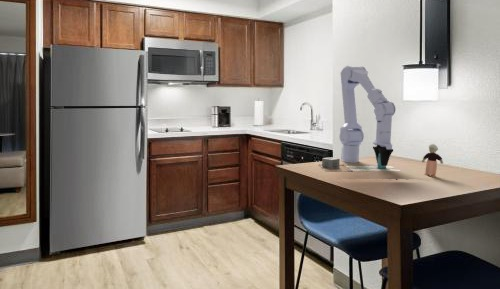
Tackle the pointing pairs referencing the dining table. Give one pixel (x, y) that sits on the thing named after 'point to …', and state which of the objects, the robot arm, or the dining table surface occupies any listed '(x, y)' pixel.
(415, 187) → the dining table surface
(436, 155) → the grandmother figurine
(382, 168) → the pawn
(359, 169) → the board
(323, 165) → the grey symbol block
